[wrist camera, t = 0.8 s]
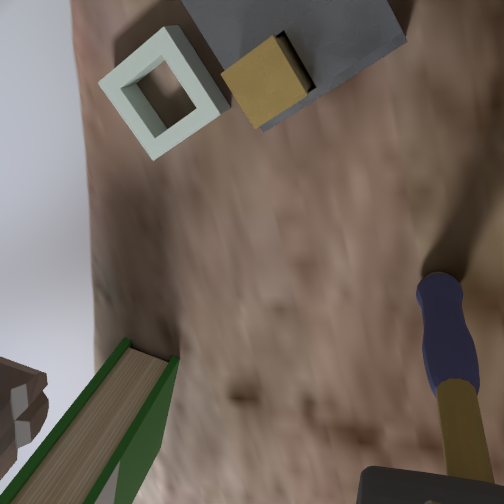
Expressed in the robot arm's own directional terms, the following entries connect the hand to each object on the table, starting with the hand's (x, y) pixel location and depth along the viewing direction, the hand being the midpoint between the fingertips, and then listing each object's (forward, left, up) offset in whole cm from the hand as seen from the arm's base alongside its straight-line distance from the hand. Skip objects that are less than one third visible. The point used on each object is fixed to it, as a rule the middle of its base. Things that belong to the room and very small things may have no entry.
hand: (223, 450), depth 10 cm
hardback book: (+41, +18, -35) cm, 57 cm away
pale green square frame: (+13, -10, -35) cm, 38 cm away
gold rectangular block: (+3, -6, -32) cm, 33 cm away
